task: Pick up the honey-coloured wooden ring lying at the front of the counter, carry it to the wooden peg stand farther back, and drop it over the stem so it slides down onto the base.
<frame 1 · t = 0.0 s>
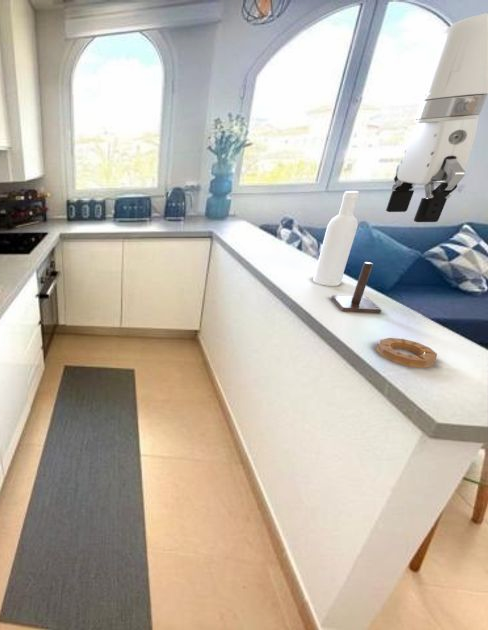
hand: (409, 216, 64), 32 cm above the table, tool pointing down, fingers open, 9 cm apart
ring: (403, 356, 78), on the table
bottle: (326, 283, 119), on the table
wooden peg stand: (354, 306, 101), on the table
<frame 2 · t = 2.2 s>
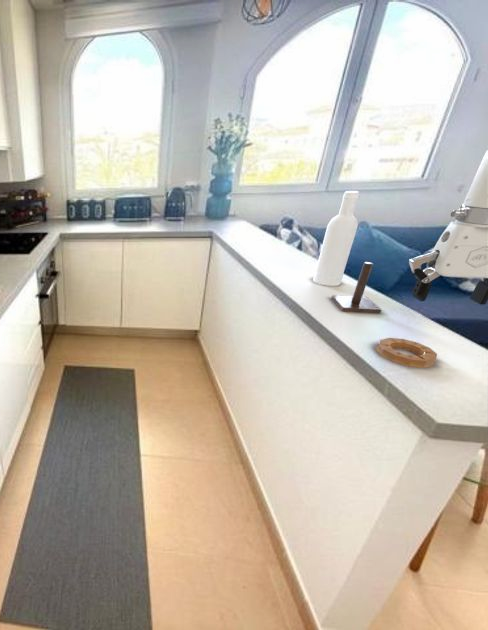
hand: (447, 300, 71), 14 cm above the table, tool pointing down, fingers open, 9 cm apart
nothing on the table moved.
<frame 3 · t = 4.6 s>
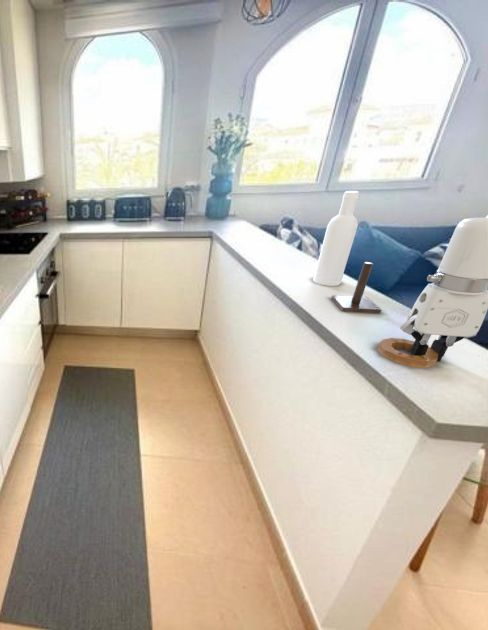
hand: (424, 357, 77), 0 cm above the table, tool pointing down, fingers closed on ring, 2 cm apart
ring: (404, 356, 78), on the table, touching gripper
everything else where it was.
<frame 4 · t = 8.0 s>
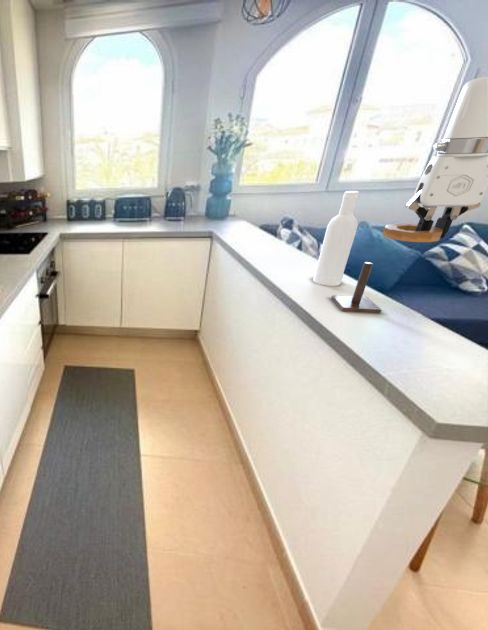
hand: (429, 236, 78), 24 cm above the table, tool pointing down, fingers closed on ring, 2 cm apart
ring: (409, 236, 79), point 24 cm above the table, touching gripper
everything else where it was.
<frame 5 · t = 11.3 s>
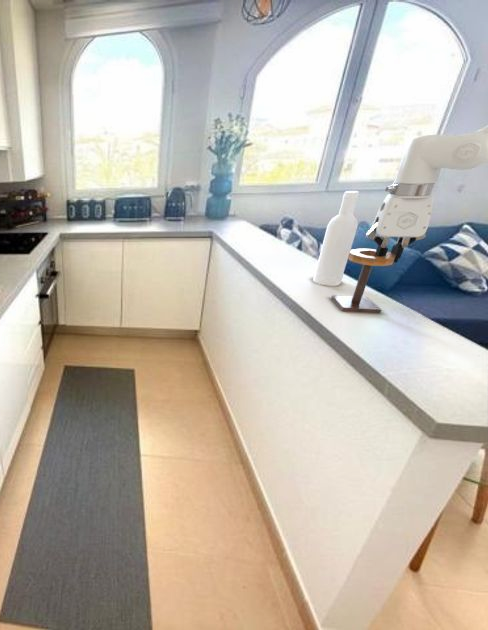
hand: (386, 260, 94), 14 cm above the table, tool pointing down, fingers closed on ring, 2 cm apart
ring: (369, 260, 95), point 14 cm above the table, touching gripper
everything else where it was.
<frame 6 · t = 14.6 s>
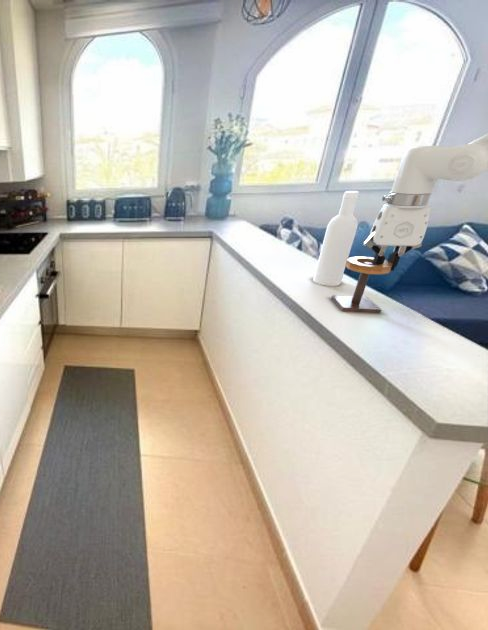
hand: (383, 268, 95), 12 cm above the table, tool pointing down, fingers closed on ring
ring: (367, 268, 96), point 12 cm above the table, touching gripper
everything else where it was.
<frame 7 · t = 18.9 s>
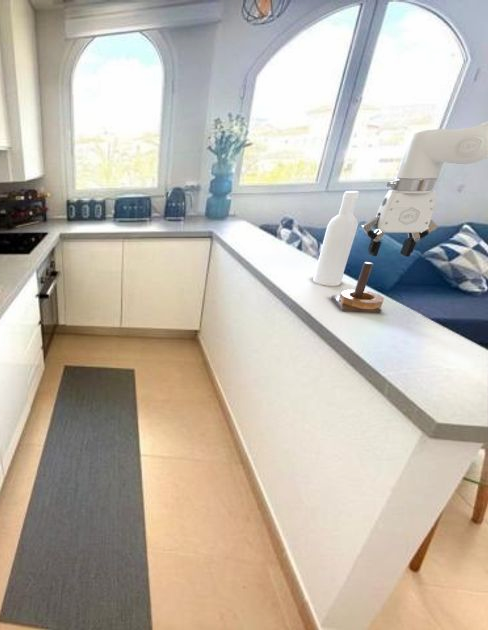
hand: (388, 254, 93), 16 cm above the table, tool pointing down, fingers open, 6 cm apart
ring: (359, 302, 101), point 1 cm above the table, touching wooden peg stand
everything else where it was.
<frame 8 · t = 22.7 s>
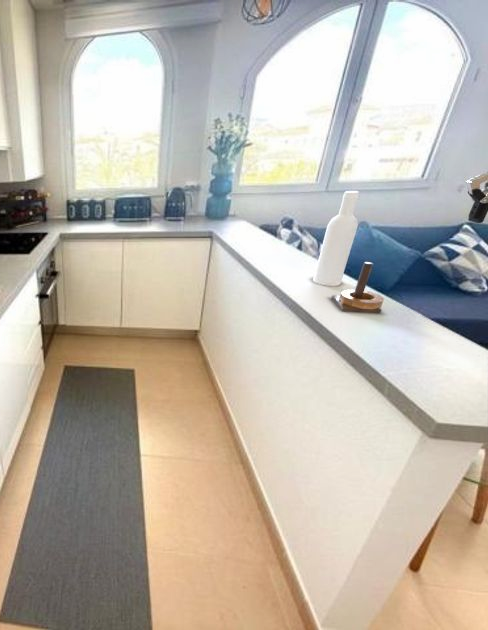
nothing on the table moved.
at the end: ring 1.1 cm off-centre on the wooden peg stand, point 1.5 cm above the wooden peg stand's base; ring tilted 0° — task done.
